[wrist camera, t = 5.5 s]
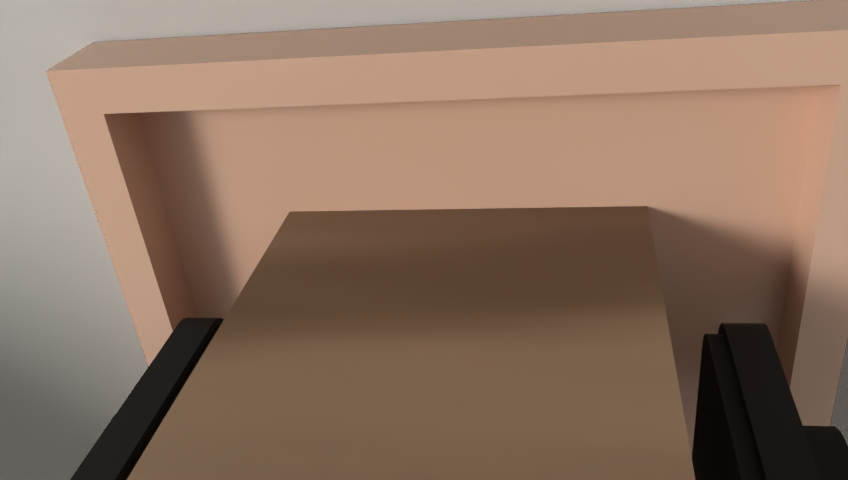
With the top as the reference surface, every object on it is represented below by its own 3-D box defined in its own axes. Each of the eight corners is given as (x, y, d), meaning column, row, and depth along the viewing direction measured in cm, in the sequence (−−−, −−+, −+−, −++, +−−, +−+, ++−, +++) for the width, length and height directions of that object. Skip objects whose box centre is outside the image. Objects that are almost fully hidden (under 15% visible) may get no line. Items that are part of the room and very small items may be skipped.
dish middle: (93, 42, 11) (46, 71, 10) (875, -4, 9) (913, 25, 8) (245, 530, 16) (223, 582, 15) (773, 562, 14) (789, 624, 13)
